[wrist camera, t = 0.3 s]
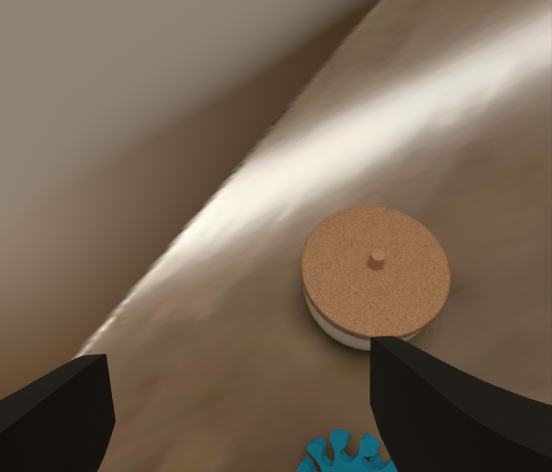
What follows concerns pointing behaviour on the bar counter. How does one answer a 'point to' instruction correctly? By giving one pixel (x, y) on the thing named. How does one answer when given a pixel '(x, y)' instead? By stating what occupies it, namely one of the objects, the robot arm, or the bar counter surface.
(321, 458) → the gear
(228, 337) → the bar counter surface
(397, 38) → the bar counter surface
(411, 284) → the lidded bowl
